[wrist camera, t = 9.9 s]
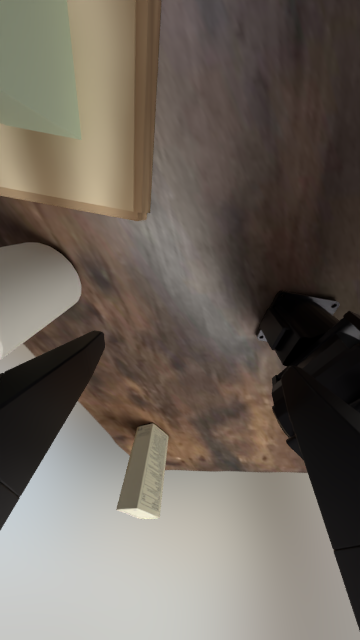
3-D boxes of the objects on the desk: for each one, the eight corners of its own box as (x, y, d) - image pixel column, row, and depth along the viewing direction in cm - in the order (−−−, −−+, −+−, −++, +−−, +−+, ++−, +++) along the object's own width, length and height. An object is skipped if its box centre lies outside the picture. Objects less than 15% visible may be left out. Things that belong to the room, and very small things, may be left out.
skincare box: (137, 425, 37) (113, 509, 26) (154, 422, 35) (136, 508, 25) (154, 439, 39) (138, 520, 29) (170, 436, 38) (160, 520, 28)
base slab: (165, -71, 9) (152, -181, 6) (149, 220, 16) (140, 222, 14) (-90, -122, 9) (-205, -256, 6) (8, 193, 16) (-28, 190, 13)
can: (9, 234, 18) (-238, 263, 8) (80, 248, 18) (-70, 295, 8) (30, 299, 22) (-114, 374, 12) (89, 309, 22) (-4, 393, 12)
